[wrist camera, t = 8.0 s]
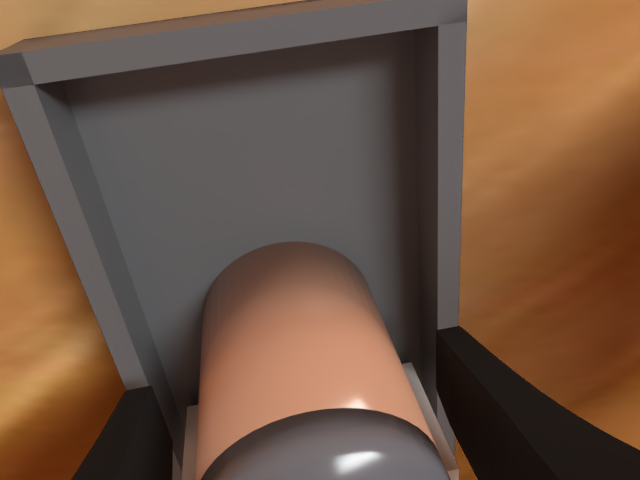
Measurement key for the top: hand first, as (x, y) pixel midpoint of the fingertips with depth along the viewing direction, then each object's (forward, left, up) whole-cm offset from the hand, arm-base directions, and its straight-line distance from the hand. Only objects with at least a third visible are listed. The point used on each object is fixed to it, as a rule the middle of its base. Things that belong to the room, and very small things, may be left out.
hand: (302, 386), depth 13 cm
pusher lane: (0, +3, -3) cm, 4 cm away
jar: (0, 0, -3) cm, 3 cm away
